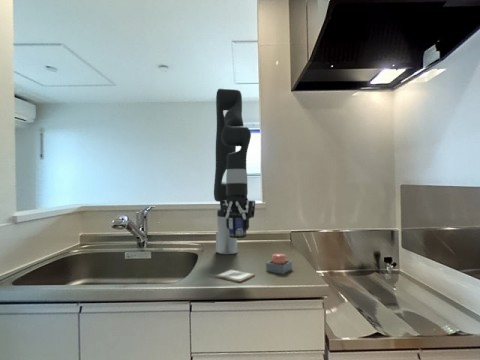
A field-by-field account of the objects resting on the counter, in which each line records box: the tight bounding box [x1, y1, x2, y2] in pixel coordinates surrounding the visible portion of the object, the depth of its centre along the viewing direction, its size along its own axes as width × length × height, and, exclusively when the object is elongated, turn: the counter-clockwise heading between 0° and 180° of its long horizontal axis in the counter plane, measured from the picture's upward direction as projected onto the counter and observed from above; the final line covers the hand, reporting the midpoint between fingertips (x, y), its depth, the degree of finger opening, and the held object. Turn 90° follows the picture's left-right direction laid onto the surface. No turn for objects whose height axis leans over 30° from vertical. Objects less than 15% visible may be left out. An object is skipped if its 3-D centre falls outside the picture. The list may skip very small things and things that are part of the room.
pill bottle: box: [229, 206, 247, 239], centre depth 104 cm, size 6×6×11 cm
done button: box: [271, 253, 287, 265], centre depth 110 cm, size 5×5×4 cm
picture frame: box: [214, 268, 256, 284], centre depth 103 cm, size 11×9×1 cm
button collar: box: [265, 259, 293, 275], centre depth 110 cm, size 7×7×3 cm
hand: (237, 229), depth 104 cm, fingers closed on pill bottle, 6 cm apart
